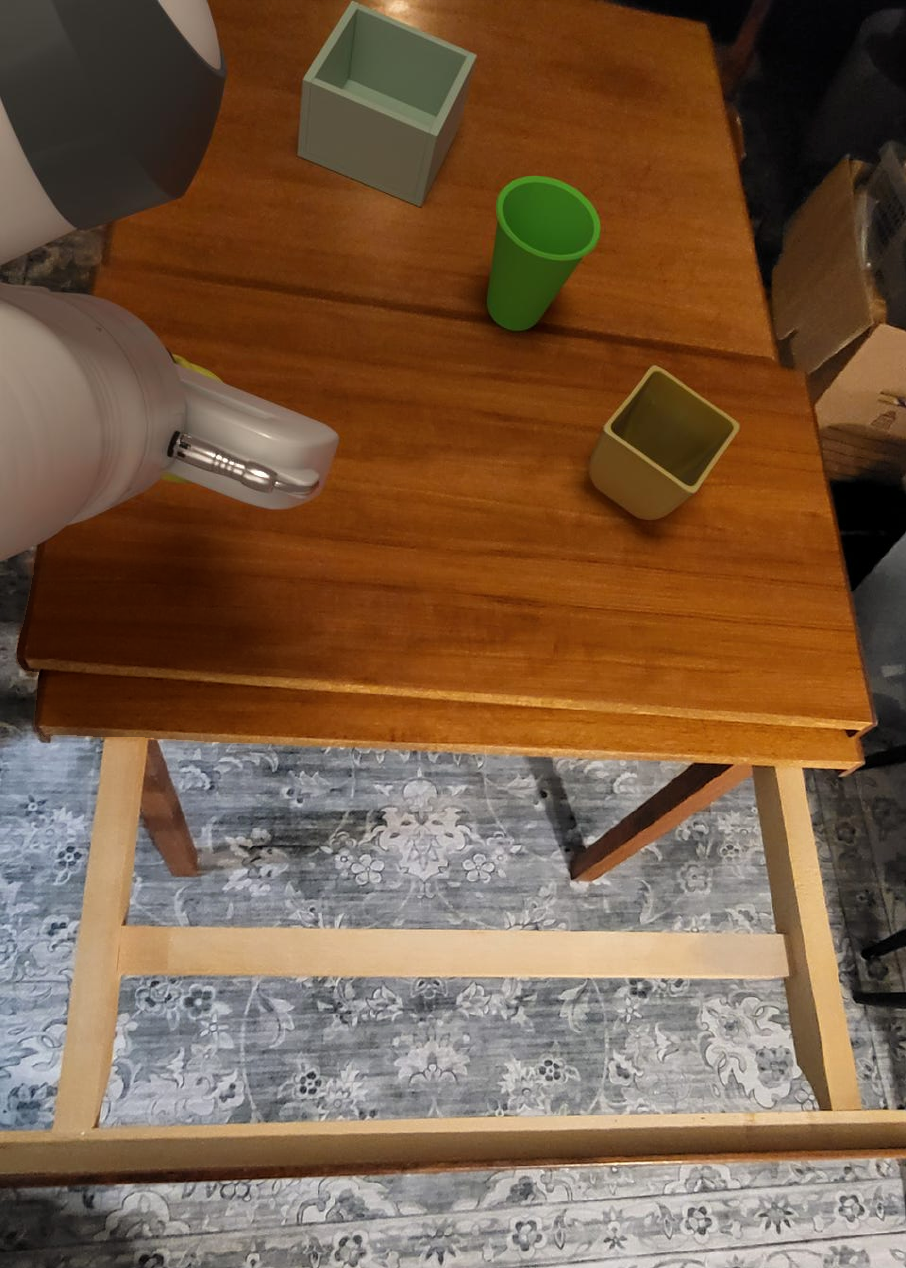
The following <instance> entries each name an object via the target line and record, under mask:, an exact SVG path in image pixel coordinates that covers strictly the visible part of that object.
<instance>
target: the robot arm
mask: <svg viewBox="0 0 906 1268" xmlns="http://www.w3.org/2000/svg"><path fill="white" fill-rule="evenodd" d="M209 5H210V4H209V3H208V0H0V266H3V265H4V264H7V263H9V262H11V261H13V260H16V259H17V258H19V257H21V256H24V255H26V254H27V253H31V252H32V251H34V250H37V249H39V248H40V247H43V246H45V245H47V244H49V243H51V242H53V241H55V240H57V239H59V238H61V237H63V236H66V235H68V234H70V233H72V232H74V231H76V230H79V231H84V232H86V231H89V230H93V229H95V228H98V227H101V226H104V225H107V224H109V223H112V222H115V221H119V220H121V219H124V218H127V217H130V216H133V215H135V214H138V213H142V212H144V211H147V210H150V209H153V208H156V207H159V206H161V205H164V204H167V203H170V202H173V201H176V200H178V199H182V198H183V197H184V196H185V195H186V194H187V191H188V190H189V188H190V186H191V184H192V183H193V180H194V179H195V177H196V175H197V173H198V171H199V168H200V167H201V164H202V162H203V160H204V158H205V155H206V153H207V150H208V149H209V146H210V143H211V140H212V137H213V134H214V131H215V127H216V124H217V120H218V117H219V113H220V110H221V106H222V101H223V97H224V92H225V86H226V80H227V75H228V68H227V62H226V58H225V55H224V51H223V48H222V46H221V43H220V40H219V39H218V34H217V28H216V25H215V21H214V19H213V15H212V11H211V9H210V6H209ZM165 347H166V346H165V345H164V344H163V342H162V341H161V339H160V338H159V337H158V336H157V335H156V333H155V332H154V331H153V330H152V329H151V327H149V326H148V325H147V324H146V323H145V322H144V321H143V320H141V319H140V318H139V317H138V316H137V315H135V314H134V313H132V312H131V311H129V310H127V309H126V308H124V307H123V306H121V305H119V304H117V303H115V302H113V301H110V300H108V299H105V298H102V297H99V296H95V295H91V294H86V293H81V292H80V293H78V292H63V291H62V292H61V291H60V292H59V291H51V290H50V289H49V288H48V287H46V286H41V285H30V284H29V285H28V284H10V283H5V282H1V281H0V563H1V562H3V561H6V560H9V559H10V558H12V557H15V556H17V555H19V554H21V553H23V552H25V551H27V550H30V549H32V548H34V547H36V546H38V545H40V544H42V543H44V542H46V541H47V540H49V539H50V538H52V537H53V536H55V535H56V534H58V533H59V532H61V531H62V530H63V529H64V528H66V527H67V526H70V525H74V524H78V523H82V522H84V521H87V520H90V519H92V518H94V517H96V516H98V515H100V514H101V513H104V512H106V511H108V510H110V509H112V508H114V507H117V506H118V505H120V504H122V503H124V502H126V501H129V500H130V499H132V498H134V497H137V496H138V495H140V494H142V493H144V492H145V491H147V490H148V489H150V488H151V487H153V486H154V485H155V484H156V483H157V482H159V480H160V478H161V477H162V476H163V475H164V474H165V473H166V472H168V473H170V474H173V475H175V476H178V477H180V478H183V479H186V480H188V481H191V482H190V483H193V484H196V485H198V486H201V487H203V488H206V489H209V490H210V491H214V492H216V493H219V494H221V495H224V496H227V497H229V498H231V499H234V500H237V501H239V502H242V503H245V504H248V505H252V506H254V507H258V508H262V509H267V510H288V509H291V508H295V507H298V506H301V505H304V504H306V503H308V502H310V501H312V500H314V499H316V497H318V496H319V495H320V494H321V493H322V491H323V488H324V486H325V484H326V481H327V479H328V476H329V473H330V470H331V468H332V465H333V462H334V459H335V456H336V453H337V449H338V446H339V442H340V436H339V433H337V431H335V430H334V429H333V428H331V427H330V426H329V425H327V424H325V423H323V422H322V421H319V420H316V419H314V418H311V417H309V416H306V415H304V414H301V413H299V412H296V411H294V410H291V409H289V408H287V407H285V406H281V405H279V404H277V403H274V402H271V401H269V400H267V399H264V398H261V397H259V396H257V395H254V394H253V393H249V392H247V391H245V390H242V389H239V388H237V387H234V386H233V385H230V384H228V383H225V382H223V381H222V382H223V383H222V382H220V381H217V380H215V379H212V378H210V377H208V376H205V375H203V374H200V373H198V372H195V371H193V370H190V369H188V368H185V367H183V366H180V365H178V364H175V363H174V362H173V360H172V358H171V356H170V354H169V353H168V351H167V350H166V348H167V347H166V348H165Z"/></svg>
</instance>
